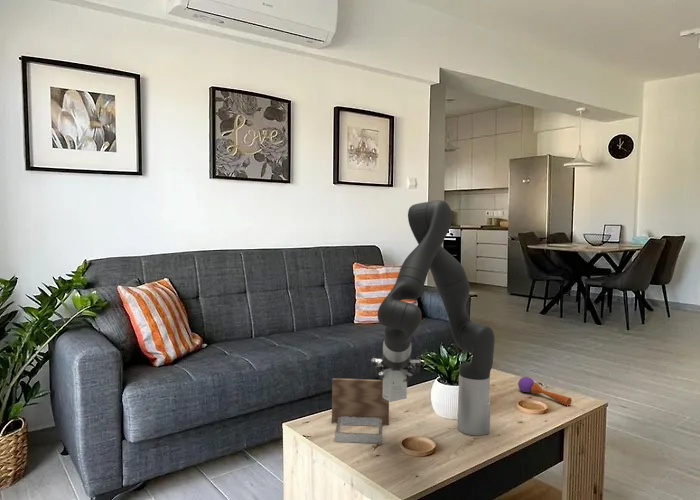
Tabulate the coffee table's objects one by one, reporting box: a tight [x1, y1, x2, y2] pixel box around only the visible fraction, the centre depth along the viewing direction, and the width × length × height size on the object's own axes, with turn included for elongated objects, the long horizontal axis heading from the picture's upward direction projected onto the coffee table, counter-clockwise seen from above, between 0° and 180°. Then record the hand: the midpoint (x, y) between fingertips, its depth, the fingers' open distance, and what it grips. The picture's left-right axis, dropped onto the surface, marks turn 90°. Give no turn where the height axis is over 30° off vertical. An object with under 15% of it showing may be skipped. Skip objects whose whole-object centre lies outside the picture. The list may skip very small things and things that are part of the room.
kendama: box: [517, 376, 573, 406], centre depth 183 cm, size 6×6×20 cm
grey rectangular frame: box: [334, 416, 383, 444], centre depth 151 cm, size 14×13×2 cm
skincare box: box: [382, 370, 408, 403], centre depth 145 cm, size 6×4×12 cm
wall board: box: [331, 377, 390, 426], centre depth 160 cm, size 18×4×14 cm, turn 87°
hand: (394, 377), depth 147 cm, fingers closed on skincare box, 7 cm apart
